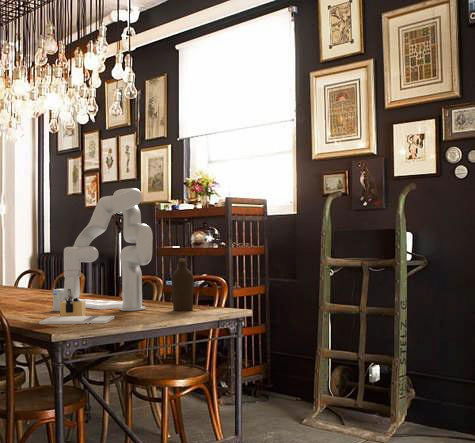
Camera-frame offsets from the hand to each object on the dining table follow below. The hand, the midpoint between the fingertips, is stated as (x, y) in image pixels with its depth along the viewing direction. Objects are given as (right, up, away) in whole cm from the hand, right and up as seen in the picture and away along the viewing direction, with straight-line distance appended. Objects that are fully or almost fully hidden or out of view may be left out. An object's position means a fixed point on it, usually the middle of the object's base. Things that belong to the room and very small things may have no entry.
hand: (72, 311), depth 293 cm
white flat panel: (+6, -2, -16) cm, 18 cm away
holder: (-1, -5, +51) cm, 52 cm away
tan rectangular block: (0, -3, 0) cm, 3 cm away
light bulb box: (-11, -4, +28) cm, 30 cm away
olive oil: (+49, -2, +19) cm, 53 cm away
